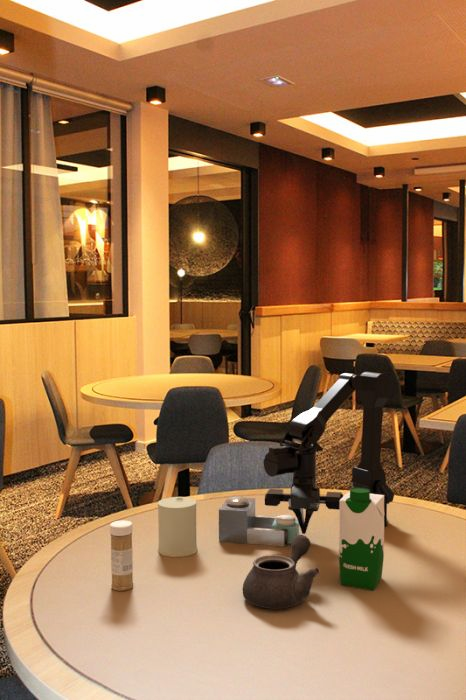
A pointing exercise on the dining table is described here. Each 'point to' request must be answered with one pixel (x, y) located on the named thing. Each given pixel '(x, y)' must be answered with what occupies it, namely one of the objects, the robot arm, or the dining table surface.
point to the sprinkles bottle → (121, 555)
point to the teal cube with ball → (287, 525)
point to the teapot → (279, 578)
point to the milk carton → (361, 538)
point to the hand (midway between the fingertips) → (304, 533)
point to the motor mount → (248, 524)
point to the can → (177, 526)
